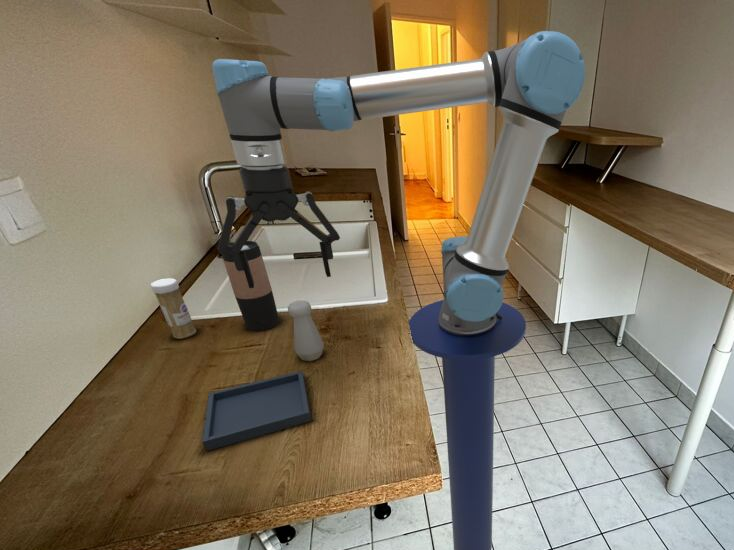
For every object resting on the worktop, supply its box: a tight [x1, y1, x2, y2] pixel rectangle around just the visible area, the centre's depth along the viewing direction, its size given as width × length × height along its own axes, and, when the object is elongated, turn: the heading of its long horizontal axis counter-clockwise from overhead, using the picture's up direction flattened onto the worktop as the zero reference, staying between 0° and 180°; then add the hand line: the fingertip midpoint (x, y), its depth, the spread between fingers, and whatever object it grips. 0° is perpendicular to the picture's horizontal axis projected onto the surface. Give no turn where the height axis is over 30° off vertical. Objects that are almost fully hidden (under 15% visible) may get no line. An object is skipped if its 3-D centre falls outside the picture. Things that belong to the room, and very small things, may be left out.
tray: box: [202, 370, 312, 452], centre depth 74 cm, size 16×14×2 cm
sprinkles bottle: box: [150, 277, 197, 340], centre depth 93 cm, size 5×5×13 cm
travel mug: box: [220, 240, 280, 332], centre depth 97 cm, size 8×8×20 cm
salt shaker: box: [287, 299, 325, 362], centre depth 87 cm, size 6×6×13 cm
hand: (291, 279), depth 81 cm, fingers open, 13 cm apart
